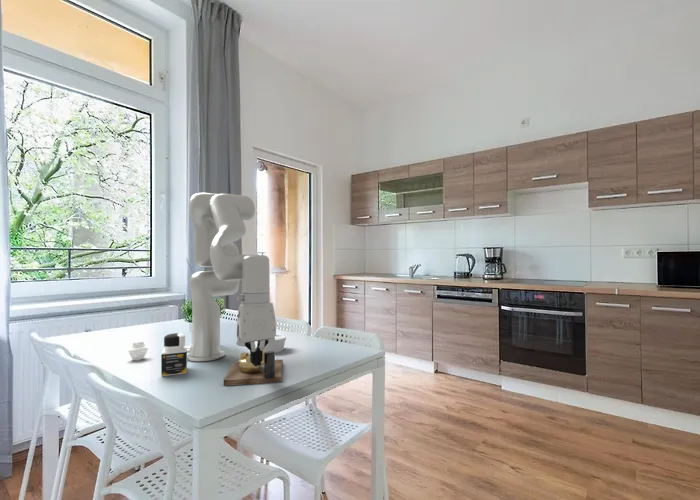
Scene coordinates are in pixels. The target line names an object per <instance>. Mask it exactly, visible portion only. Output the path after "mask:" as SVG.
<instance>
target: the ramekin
mask: <svg viewBox="0 0 700 500" xmlns="http://www.w3.org/2000/svg"><path fill="white" fill-rule="evenodd" d="M286 339H287V338H286V336H285V335H282V334H276V336H275V340H274V341H273V342H270V343H268V344H267V345H266V346H265V347H264V350H265V352H266V351H274V352H275V354H277V353H278V354H279V353H280V352H283V351H284V348H285V343H286Z"/></svg>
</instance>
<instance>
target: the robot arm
mask: <svg viewBox="0 0 700 500" xmlns="http://www.w3.org/2000/svg"><path fill="white" fill-rule="evenodd" d="M255 207H256V206H255V203H254V200H253V199H252V198H251V197H249V196H248V195H240V194H234V193H233V194H232V193H213V192H212V193H211V192H198V193H195V194H193V195H191V197H190V199H189V203H188V209H189V217H190V219H191V223H192V225H193V226H192V227H193V231H194V232H193V233H194V234H193V254H194V255H193V257H194V259H193V260H194V263H195V265H197V266H199V267H201V268H212V270H202V271H197V272H195V273H193V274H192V275H191V276H190V278H189V280H188V281H189V282H188V283H189V284H188V285H189V290H190V296H191V310H192V311H191V312H192V313H191V315H192V317H191V318H192V320H191V321H192V322H191V326H192V327H191V328H192V333H191V334H192V336H191V337H192V344H191V345H189V346H187V361H191V362H209V361H215V360H218V359H221V358H223V357H225V351H224V350H221V308H220V304H218V302H217V301H216V300H215V299H214V297H221V296H222V297H223V296H231V295H232V296H233V295H234V294H236V293H237V292H238V291H239V288H240V281H241V292H242V293H240V295H238V296H236V301H237V302H241V304H239V306H238V307H239V308H238V312H237V320H236V337H237V338H236V345H237V346H238V347H245V348H247V349H248V350H249V354H250V362H251V363H252V364H253V365H254V366H257V365H259V366H260V365H261V361H262V351H263V350H264V347H265V346H266V345H267V344H268V343H270V342H273V341H274V340H275V336H276V335H277V322H276V314H275V309H274V304H273V302H271V301H270V300H271V299H270V296H271V295H270V290H271V289H270V288H271V287H270V283H271V282H270V258H269V256H267V255H265V254H264V255H263V254H240V251H239V248H238V246H237V244H236V243H234V242H237V241H239V240H240V239H242V238H243V237H244V236H245V234H246V231H247V230H246V229H247V227H246V225H245V222H244V221H250V220H252V219H253V218H254V216H255V214H256V208H255ZM212 218H213V219H212Z"/></svg>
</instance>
